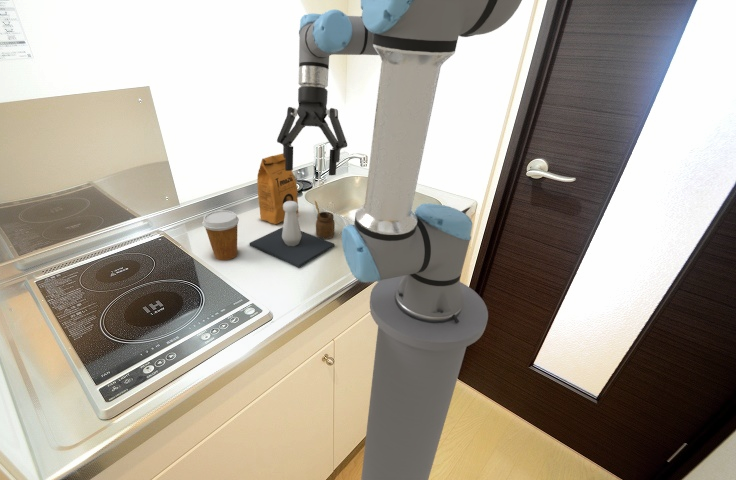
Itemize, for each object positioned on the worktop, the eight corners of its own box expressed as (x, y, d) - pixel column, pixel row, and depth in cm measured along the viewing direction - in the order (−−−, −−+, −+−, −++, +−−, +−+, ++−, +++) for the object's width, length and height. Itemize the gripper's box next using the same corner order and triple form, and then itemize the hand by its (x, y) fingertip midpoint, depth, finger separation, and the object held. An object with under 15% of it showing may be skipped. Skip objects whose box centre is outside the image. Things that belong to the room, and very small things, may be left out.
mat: (334, 246, 111) (334, 243, 110) (299, 268, 100) (299, 265, 99) (286, 227, 121) (286, 225, 120) (249, 245, 110) (249, 242, 109)
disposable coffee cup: (234, 265, 100) (229, 225, 94) (202, 261, 102) (194, 222, 95) (248, 248, 108) (243, 211, 102) (217, 245, 110) (211, 208, 103)
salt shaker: (279, 245, 108) (276, 204, 101) (286, 237, 113) (284, 197, 106) (297, 248, 107) (296, 207, 100) (304, 240, 112) (303, 200, 105)
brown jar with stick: (337, 237, 116) (338, 202, 110) (318, 240, 114) (318, 204, 107) (330, 229, 120) (331, 195, 114) (312, 232, 118) (312, 197, 112)
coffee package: (302, 217, 128) (301, 154, 117) (275, 228, 120) (270, 161, 109) (284, 209, 134) (281, 148, 122) (256, 219, 126) (250, 155, 115)
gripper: (363, 89, 91) (357, 176, 98) (280, 89, 101) (279, 168, 108) (351, 85, 85) (345, 178, 92) (264, 85, 95) (264, 169, 102)
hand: (310, 172), depth 100 cm, fingers open, 13 cm apart
